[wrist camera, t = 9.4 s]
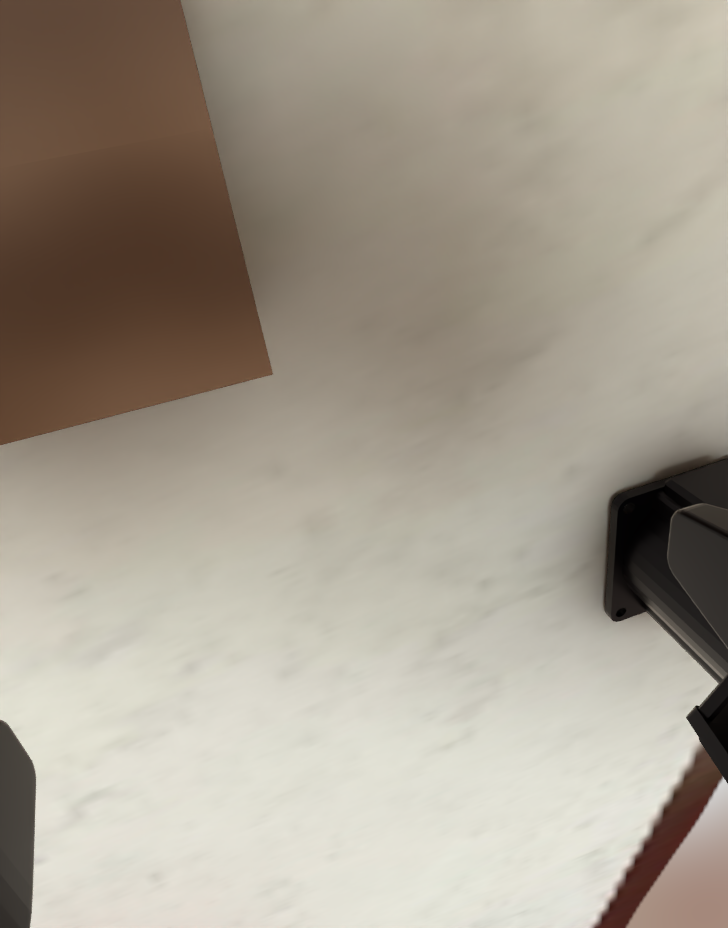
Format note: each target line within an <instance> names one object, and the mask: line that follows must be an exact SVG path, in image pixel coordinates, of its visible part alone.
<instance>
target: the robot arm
mask: <svg viewBox="0 0 728 928" xmlns="http://www.w3.org/2000/svg"><path fill="white" fill-rule="evenodd" d="M605 612H606V614H607V615H608V616H609V617H610V618H611V619H612V620H613V621H616V622H617V621H621V620H624V619H627V618H630V617H632V616H635V615H638V614H641V613H643V612H647V613H648V614H649V615H650V616H651V617H652V618H653V619H654V620H655V621H656V622H657V623H658V624H659V625H660V626H661V627H662V628H663V629H664V630H665V631H666V632H667V633H668V634H669V635H671V636H672V637H673V638H674V639H675V640H676V641H677V642H678V643H679V644H680V645H681V646H682V647H683V648H684V649H685V650H686V651H687V652H688V653H689V654H690V655H691V656H692V657H693V658H694V659H695V660H696V661H697V662H698V663H699V664H700V665H701V666H702V667H703V668H704V669H705V670H706V671H707V672H708V673H709V674H710V675H711V676H712V677H713V678H714V679H715V680H716V681H717V682H718V683H719V684H718V685H717V687H716V688H715V689H714V690H713V691H712V692H711V693H710V695H709V696H708V697H707V698H706V699H705V700H704V701H703V703H702V704H701V705H700V706H695V707H694V708H693V710H692V711H691V712H690V713H689V714H688V715H687V717H686V718H687V720H688V721H689V723H690V724H691V726H692V727H693V729H694V730H695V732H696V733H697V735H698V736H699V740H700V742H701V744H702V745H703V747H704V748H705V750H706V751H707V753H708V754H709V756H710V757H711V759H712V760H713V762H714V763H715V765H716V766H717V768H718V769H719V771H720V772H721V774H722V775H723V777H724V779H725V780H726V782H727V783H728V459H725V460H722V461H719V462H716V463H713V464H710V465H706V466H703V467H700V468H697V469H694V470H691V471H688V472H685V473H682V474H679V475H676V476H673V477H670V478H666V479H663V480H660V481H657V482H654V483H651V484H648V485H645V486H642V487H639V488H636V489H633V490H629V491H626V492H623V493H621V494H619V495H618V496H617V497H616V498H615V499H614V501H613V502H612V506H611V518H610V536H609V553H608V570H607V587H606V604H605ZM35 800H36V774H35V769H34V765H33V763H32V760H31V759H30V757H29V755H28V754H27V752H26V751H25V749H24V748H23V746H22V745H21V743H20V742H19V740H18V739H17V737H16V736H15V734H14V733H13V731H12V730H11V728H10V727H9V725H8V724H7V723H6V722H4V721H2V720H0V928H30V922H31V913H32V896H33V869H34V834H35Z"/></svg>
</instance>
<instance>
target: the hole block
mask: <svg viewBox="0 0 728 928" xmlns="http://www.w3.org/2000/svg"><path fill="white" fill-rule="evenodd" d="M272 374H273V373H272V369H271V365H270V361H269V357H268V353H267V349H266V345H265V341H264V337H263V333H262V329H261V325H260V321H259V317H258V313H257V309H256V304H255V300H254V296H253V292H252V288H251V284H250V280H249V276H248V272H247V268H246V264H245V260H244V256H243V252H242V248H241V244H240V240H239V236H238V232H237V228H236V224H235V220H234V215H233V211H232V207H231V203H230V199H229V195H228V191H227V187H226V183H225V179H224V175H223V171H222V167H221V163H220V159H219V155H218V151H217V147H216V143H215V139H214V135H213V130H212V126H211V122H210V118H209V114H208V110H207V106H206V102H205V98H204V94H203V90H202V86H201V82H200V78H199V74H198V70H197V66H196V62H195V58H194V54H193V50H192V46H191V41H190V37H189V33H188V29H187V25H186V21H185V17H184V13H183V9H182V5H181V1H180V0H0V445H3V444H7V443H11V442H14V441H18V440H22V439H26V438H30V437H34V436H37V435H41V434H45V433H49V432H53V431H57V430H61V429H64V428H68V427H72V426H76V425H80V424H84V423H87V422H91V421H95V420H99V419H103V418H107V417H111V416H114V415H118V414H122V413H126V412H130V411H134V410H137V409H141V408H145V407H149V406H153V405H157V404H161V403H164V402H168V401H172V400H176V399H180V398H184V397H188V396H191V395H195V394H199V393H203V392H207V391H211V390H214V389H218V388H222V387H226V386H230V385H234V384H238V383H241V382H245V381H249V380H253V379H257V378H261V377H264V376H268V375H272Z"/></svg>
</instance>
